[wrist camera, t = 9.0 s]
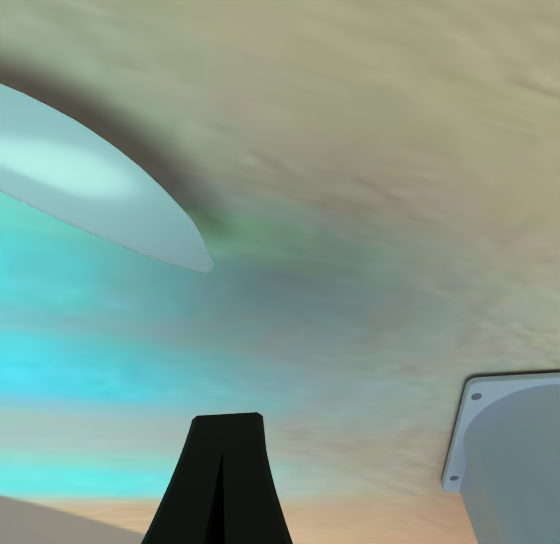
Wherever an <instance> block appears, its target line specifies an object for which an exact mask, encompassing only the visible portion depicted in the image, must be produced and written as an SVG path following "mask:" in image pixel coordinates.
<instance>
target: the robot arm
mask: <svg viewBox="0 0 560 544" xmlns="http://www.w3.org/2000/svg"><path fill="white" fill-rule="evenodd" d="M441 485H442V488H443V490H444V491H446V492H461V495H462V498H463V501H464V504H465V507H466V510H467V513H468V516H469V519H470V521H471V524H472V527H473V530H474V533H475V536H476V539H477V542H478V544H560V372H559V373H542V374H524V375H507V376H490V377H476V378H472V379H470V380H469V381H468V382H467V383H466V385H465V389H464V393H463V397H462V401H461V405H460V409H459V413H458V418H457V422H456V426H455V430H454V434H453V438H452V442H451V446H450V450H449V454H448V458H447V462H446V466H445V470H444V474H443V478H442V482H441ZM141 544H293V543H292V540H291V537H290V534H289V531H288V528H287V525H286V522H285V519H284V516H283V512H282V509H281V506H280V503H279V499H278V496H277V493H276V489H275V486H274V482H273V478H272V474H271V470H270V466H269V461H268V457H267V452H266V443H265V433H264V423H263V416H262V415H261V414H259V413H257V412H254V413H237V414H220V415H202V416H196V417H195V418H194V419H193V420H192V423H191V426H190V430H189V433H188V436H187V439H186V442H185V445H184V447H183V450H182V453H181V455H180V458H179V461H178V463H177V466H176V468H175V471H174V473H173V476H172V478H171V480H170V483H169V485H168V487H167V490H166V492H165V494H164V496H163V499H162V501H161V503H160V505H159V507H158V510H157V512H156V514H155V516H154V518H153V521H152V523H151V525H150V527H149V529H148V531H147V533H146V535H145V537H144V539H143V541H142V543H141Z"/></svg>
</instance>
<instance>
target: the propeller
mask: <svg viewBox="0 0 560 544" xmlns="http://www.w3.org/2000/svg"><path fill="white" fill-rule="evenodd" d="M0 191H1V192H3V193H5V194H7V195H9V196H11V197H13V198H15V199H17V200H19V201H21V202H23V203H25V204H27V205H29V206H31V207H33V208H35V209H38V210H40V211H42V212H44V213H46V214H48V215H50V216H52V217H55V218H57V219H59V220H61V221H63V222H66V223H68V224H70V225H72V226H75V227H77V228H79V229H81V230H84V231H86V232H88V233H90V234H93V235H95V236H97V237H100V238H102V239H105V240H107V241H110V242H112V243H115V244H117V245H120V246H122V247H125V248H127V249H130V250H132V251H135V252H138V253H140V254H143V255H146V256H148V257H151V258H154V259H156V260H159V261H162V262H165V263H168V264H171V265H174V266H178V267H182V268H186V269H190V270H194V271H197V272H201V273H205V274H208V273H209V272H210V271H211V269H212V268H213V266H214V262H213V260H212V258H211V255H210V253H209V251H208V249H207V247H206V245H205V243H204V241H203V239H202V236H201V234H200V232H199V231H198V229H197V227H196V225H195V224H194V222H193V221H192V219H191V218H190V217H189V216H188V215H187V214H186V212H185V211H184V210H183V209H182V208H181V207H180V206H179V205H178V204H177V203H176V202H175V201H174V200H173V199H172V197H171V196H170V195H169V194H168V193H167V192H166V191H165V190H164V189H163V188H162V187H161V186H160V185H159V184H158V183H157V182H156V181H155V180H154V179H153V178H151V177H150V176H149V175H148V174H147V173H146V172H145V171H144V170H143V169H142V168H141V167H140V166H138V165H137V164H136V163H135V162H133V161H132V160H131V159H130V158H128V157H127V156H126V155H125V154H123V153H122V152H121V151H119V150H118V149H117V148H116V147H114V146H113V145H111V144H110V143H109V142H107V141H106V140H104V139H103V138H101V137H100V136H98V135H97V134H96V133H94V132H93V131H91V130H90V129H88V128H86V127H85V126H83V125H82V124H80V123H79V122H77V121H76V120H74V119H72V118H70V117H68V116H66V115H65V114H63V113H61V112H59V111H57V110H55V109H53V108H52V107H50V106H48V105H46V104H44V103H42V102H40V101H38V100H36V99H34V98H32V97H30V96H28V95H26V94H24V93H21V92H19V91H17V90H14V89H12V88H10V87H7V86H5V85H2V84H0Z"/></svg>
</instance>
